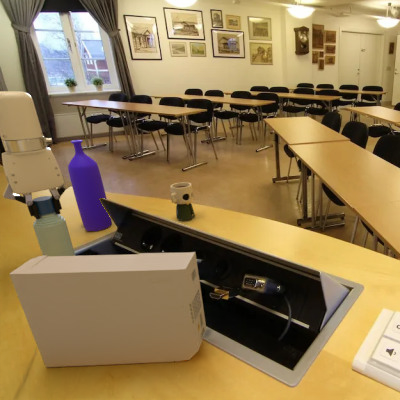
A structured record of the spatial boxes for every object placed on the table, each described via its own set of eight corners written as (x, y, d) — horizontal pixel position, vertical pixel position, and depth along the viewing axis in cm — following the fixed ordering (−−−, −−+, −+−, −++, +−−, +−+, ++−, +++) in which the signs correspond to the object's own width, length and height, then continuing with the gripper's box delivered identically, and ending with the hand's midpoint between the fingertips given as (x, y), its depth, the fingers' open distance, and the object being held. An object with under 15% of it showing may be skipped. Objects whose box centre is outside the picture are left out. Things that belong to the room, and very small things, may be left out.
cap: (57, 211, 83) (53, 198, 82) (39, 216, 81) (34, 202, 79) (53, 208, 86) (49, 194, 84) (34, 212, 83) (30, 198, 81)
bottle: (78, 230, 108) (52, 142, 97) (99, 220, 116) (78, 137, 105) (98, 233, 106) (74, 143, 96) (118, 223, 114) (98, 139, 103)
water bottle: (43, 273, 85) (21, 207, 78) (50, 261, 90) (30, 198, 83) (74, 268, 87) (55, 203, 81) (79, 256, 93) (62, 195, 86)
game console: (66, 343, 63) (36, 254, 56) (208, 337, 65) (195, 251, 58) (45, 368, 57) (8, 273, 50) (200, 360, 59) (185, 269, 52)
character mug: (184, 225, 113) (178, 190, 108) (167, 222, 115) (161, 188, 110) (203, 213, 123) (199, 181, 118) (187, 211, 125) (183, 179, 120)
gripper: (62, 139, 85) (80, 203, 92) (-26, 148, 73) (1, 221, 80) (71, 142, 81) (89, 209, 87) (-21, 153, 69) (7, 230, 75)
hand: (47, 214), depth 83 cm, fingers closed on cap, 3 cm apart
